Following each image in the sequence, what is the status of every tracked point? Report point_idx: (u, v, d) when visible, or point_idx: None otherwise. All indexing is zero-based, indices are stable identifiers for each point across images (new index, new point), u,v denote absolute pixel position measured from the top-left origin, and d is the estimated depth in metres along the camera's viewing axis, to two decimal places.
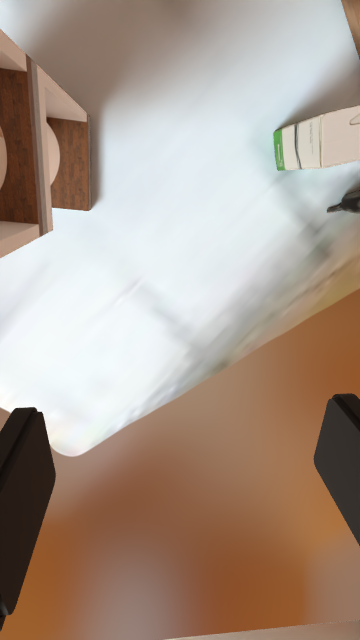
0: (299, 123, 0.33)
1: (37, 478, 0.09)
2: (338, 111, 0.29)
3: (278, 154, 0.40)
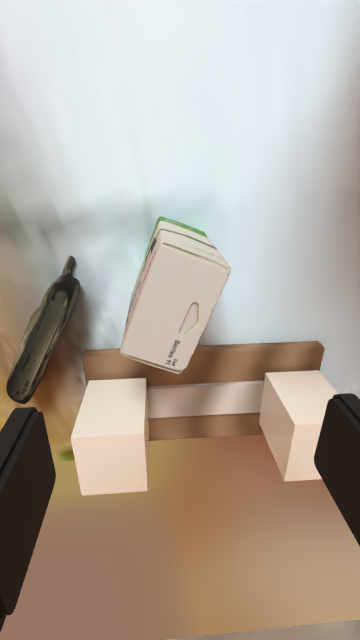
0: (217, 251, 0.23)
1: (37, 478, 0.09)
2: (219, 293, 0.20)
3: (180, 224, 0.28)
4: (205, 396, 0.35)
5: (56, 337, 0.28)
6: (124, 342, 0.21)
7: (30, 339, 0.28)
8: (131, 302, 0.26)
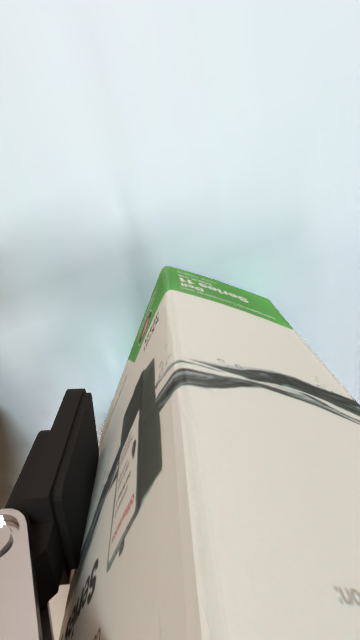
0: None
1: (89, 452, 0.10)
2: None
3: (217, 288, 0.11)
4: None
5: None
6: None
7: None
8: (85, 529, 0.09)
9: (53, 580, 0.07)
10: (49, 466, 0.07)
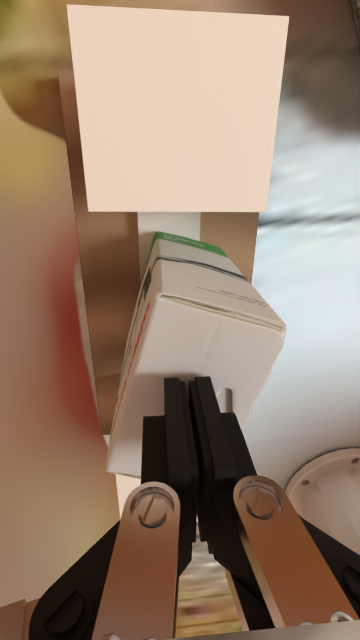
0: None
1: None
2: (268, 370, 0.11)
3: (186, 240, 0.19)
4: None
5: None
6: (110, 455, 0.13)
7: None
8: (123, 364, 0.18)
9: (191, 548, 0.07)
10: (180, 445, 0.08)
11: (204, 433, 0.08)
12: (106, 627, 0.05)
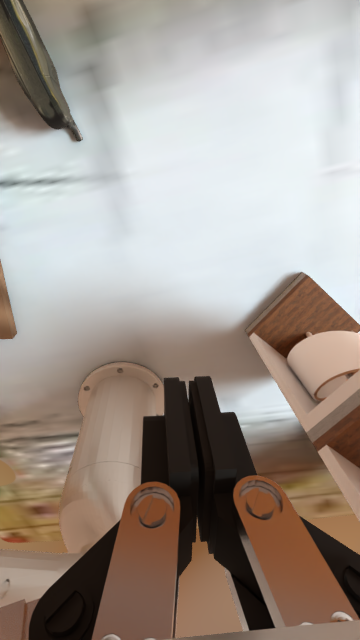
0: None
1: None
2: None
3: None
4: None
5: (12, 66, 0.26)
6: None
7: (24, 39, 0.26)
8: None
9: (191, 548, 0.07)
10: (179, 445, 0.08)
11: (204, 433, 0.08)
12: (106, 627, 0.05)
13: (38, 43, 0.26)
